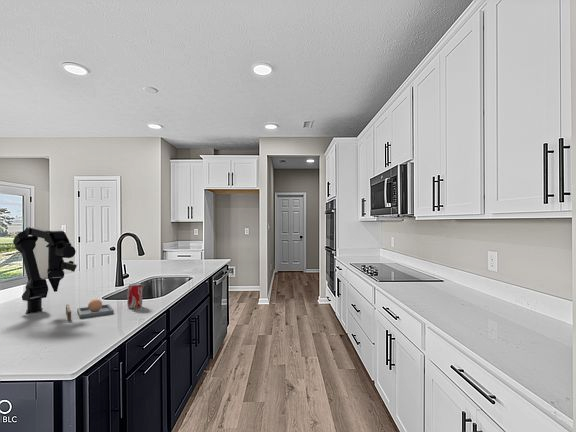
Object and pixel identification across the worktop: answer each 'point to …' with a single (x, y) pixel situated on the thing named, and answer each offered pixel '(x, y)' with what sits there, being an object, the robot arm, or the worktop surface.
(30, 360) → the worktop surface
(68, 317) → the fence
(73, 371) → the worktop surface
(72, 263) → the robot arm
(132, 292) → the soda can
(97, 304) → the ball
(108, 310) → the dish
